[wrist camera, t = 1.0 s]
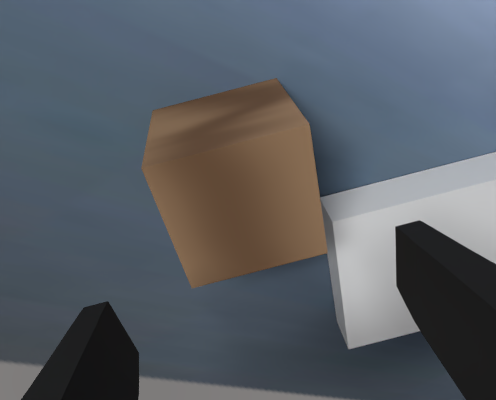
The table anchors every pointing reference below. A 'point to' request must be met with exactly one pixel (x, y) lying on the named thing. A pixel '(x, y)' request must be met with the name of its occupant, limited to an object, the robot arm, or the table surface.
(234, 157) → the walnut cube
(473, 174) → the white slab
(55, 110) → the table surface
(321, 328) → the table surface
